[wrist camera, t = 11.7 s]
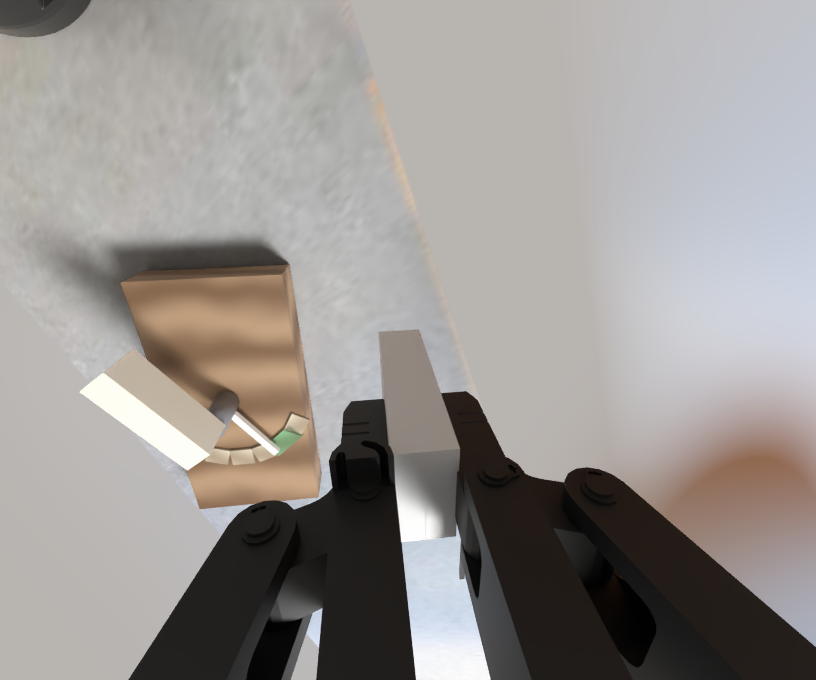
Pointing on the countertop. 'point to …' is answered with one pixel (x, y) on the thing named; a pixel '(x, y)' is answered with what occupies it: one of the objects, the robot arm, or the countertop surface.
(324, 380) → the countertop surface
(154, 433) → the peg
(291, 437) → the board
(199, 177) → the countertop surface
